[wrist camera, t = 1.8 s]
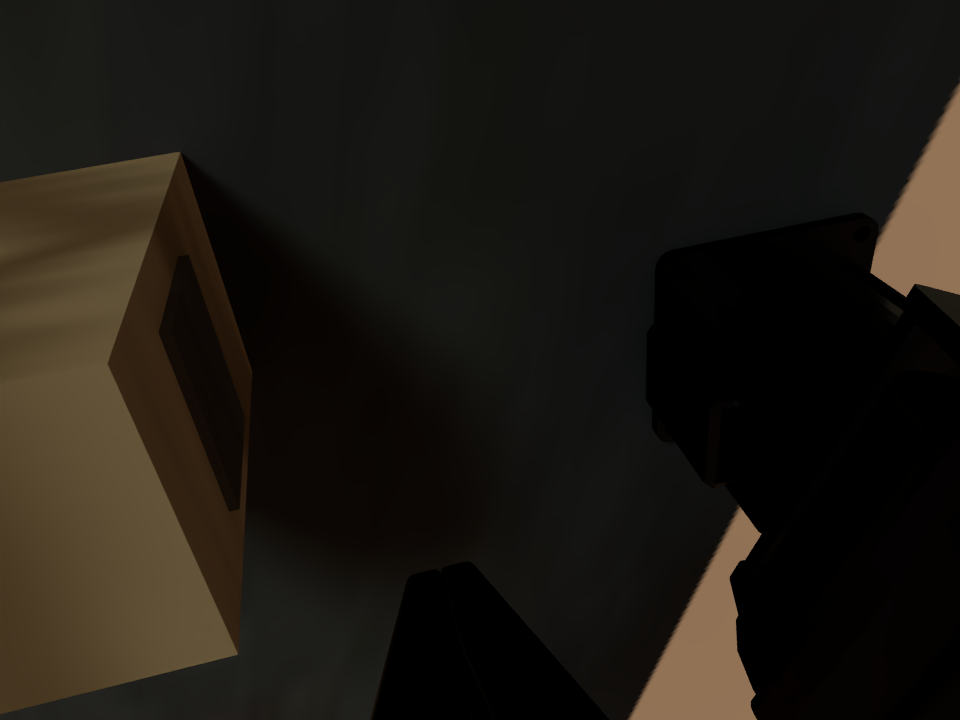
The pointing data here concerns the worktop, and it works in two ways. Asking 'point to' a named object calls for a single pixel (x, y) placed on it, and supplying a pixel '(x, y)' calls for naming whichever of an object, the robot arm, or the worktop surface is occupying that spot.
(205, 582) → the wooden block
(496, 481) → the worktop surface
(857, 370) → the robot arm
